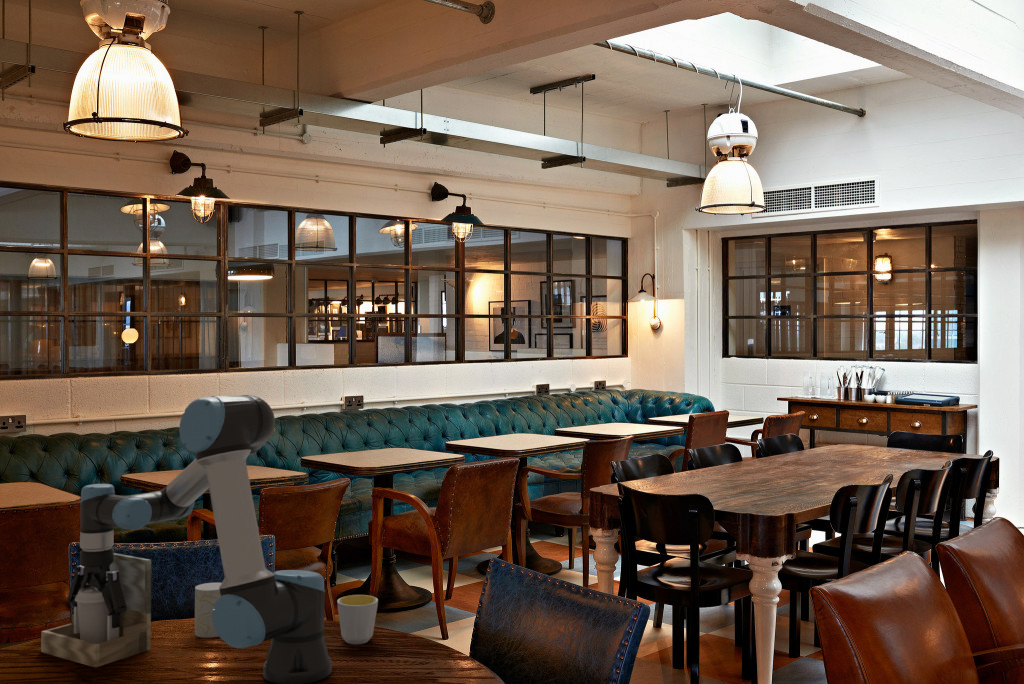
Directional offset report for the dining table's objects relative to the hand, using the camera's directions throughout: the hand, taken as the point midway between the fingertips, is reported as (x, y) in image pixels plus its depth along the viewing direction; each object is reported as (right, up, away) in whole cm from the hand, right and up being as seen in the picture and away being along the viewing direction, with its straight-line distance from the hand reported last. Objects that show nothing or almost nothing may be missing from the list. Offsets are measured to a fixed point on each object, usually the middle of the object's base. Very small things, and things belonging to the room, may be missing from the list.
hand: (96, 636), depth 226 cm
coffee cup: (0, -4, 0) cm, 4 cm away
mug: (+62, -4, +11) cm, 63 cm away
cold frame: (0, -3, 0) cm, 3 cm away
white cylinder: (+23, -4, +15) cm, 28 cm away
